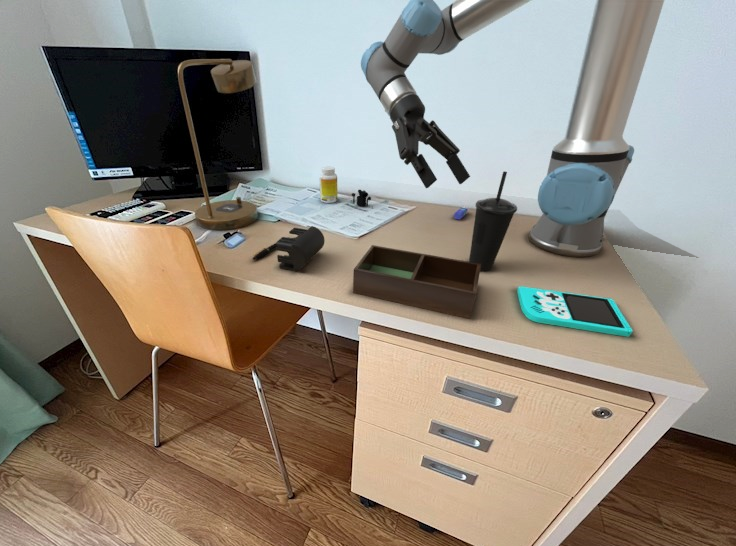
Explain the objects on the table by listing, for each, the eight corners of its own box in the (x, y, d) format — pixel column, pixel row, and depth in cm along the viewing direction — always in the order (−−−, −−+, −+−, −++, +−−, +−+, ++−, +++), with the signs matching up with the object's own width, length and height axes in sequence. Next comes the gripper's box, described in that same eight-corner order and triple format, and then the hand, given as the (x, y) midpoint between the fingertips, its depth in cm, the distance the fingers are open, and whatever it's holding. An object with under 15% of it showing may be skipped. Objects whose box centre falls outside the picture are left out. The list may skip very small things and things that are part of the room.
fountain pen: (289, 238, 88) (288, 232, 88) (292, 239, 88) (292, 233, 87) (250, 261, 78) (250, 255, 77) (254, 262, 78) (253, 256, 77)
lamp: (285, 202, 111) (272, 58, 89) (233, 234, 91) (200, 57, 69) (241, 196, 117) (219, 59, 95) (183, 224, 96) (138, 58, 75)
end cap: (306, 275, 73) (305, 245, 69) (277, 269, 75) (274, 240, 71) (325, 254, 81) (324, 227, 77) (298, 249, 83) (296, 223, 79)
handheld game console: (516, 290, 67) (518, 284, 67) (610, 303, 64) (613, 297, 63) (523, 320, 60) (526, 314, 59) (631, 337, 56) (635, 331, 55)
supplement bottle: (339, 202, 111) (339, 169, 105) (323, 204, 109) (322, 171, 103) (334, 197, 115) (333, 165, 109) (318, 199, 113) (316, 166, 108)
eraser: (467, 214, 101) (468, 207, 100) (460, 220, 97) (461, 213, 96) (460, 212, 102) (461, 206, 101) (453, 218, 98) (454, 212, 97)
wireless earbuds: (350, 204, 109) (350, 188, 106) (355, 202, 110) (355, 186, 107) (369, 209, 105) (370, 192, 102) (373, 206, 107) (374, 190, 104)
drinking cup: (502, 276, 72) (532, 178, 60) (463, 272, 73) (486, 176, 62) (495, 259, 78) (522, 167, 67) (460, 256, 79) (480, 166, 68)
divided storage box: (370, 266, 76) (372, 244, 73) (475, 287, 69) (481, 263, 66) (352, 292, 67) (353, 269, 64) (469, 318, 60) (476, 293, 57)
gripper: (423, 121, 90) (464, 189, 87) (356, 116, 75) (403, 197, 71) (444, 97, 84) (489, 168, 81) (376, 85, 69) (428, 172, 65)
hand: (449, 182), depth 76 cm, fingers open, 13 cm apart
